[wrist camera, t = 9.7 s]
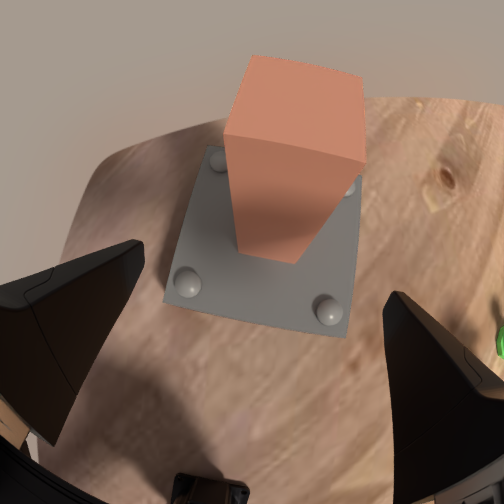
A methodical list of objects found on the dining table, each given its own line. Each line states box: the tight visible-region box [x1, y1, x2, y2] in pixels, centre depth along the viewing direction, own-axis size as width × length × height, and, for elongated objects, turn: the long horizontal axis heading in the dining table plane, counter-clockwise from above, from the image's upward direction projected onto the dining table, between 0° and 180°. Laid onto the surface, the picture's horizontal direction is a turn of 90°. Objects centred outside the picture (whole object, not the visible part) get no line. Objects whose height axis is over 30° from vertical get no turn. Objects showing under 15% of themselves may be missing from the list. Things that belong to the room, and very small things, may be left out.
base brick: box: [163, 145, 362, 338], centre depth 21 cm, size 13×13×4 cm
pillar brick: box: [223, 55, 366, 264], centre depth 14 cm, size 4×4×13 cm
